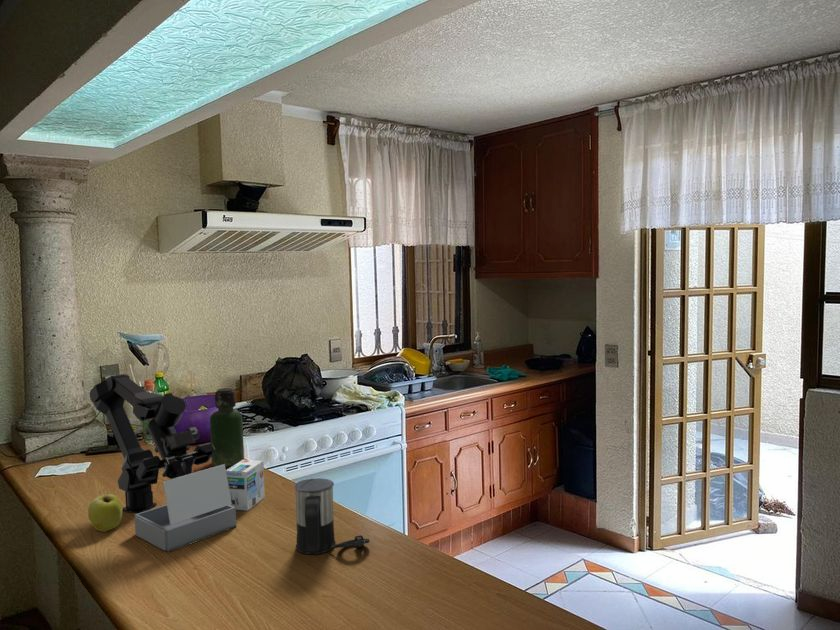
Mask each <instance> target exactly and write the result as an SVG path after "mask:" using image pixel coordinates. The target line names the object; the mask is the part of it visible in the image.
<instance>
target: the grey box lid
mask: <svg viewBox="0 0 840 630" xmlns="http://www.w3.org/2000/svg"><path fill="white" fill-rule="evenodd" d="M226 470H227V469H226V467H225V464H223V465H220V466H213V467H209V468H207V469H201V470H199V471H195V472H192V473H191V474H188V475H184V476H181V477H177V478H173V479H170V478H169V479H168V480H164V481H162V485H163V489H164V495H165V496H164V497H165V501H166V505H167V508H168V514H169V520H170V525H172V524H175V523H178V522H181V521H184V520H186V519H189V518H192V517H195V516H198V515H201V514H204V513H207V512H210V511H213V510H216V509H219V508H222V507H225V506H227V505H230V504H232V503H231V497H230V492H229V486H228V480H227V474H226Z"/></svg>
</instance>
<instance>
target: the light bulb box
mask: <svg viewBox="0 0 840 630" xmlns="http://www.w3.org/2000/svg"><path fill="white" fill-rule="evenodd" d="M264 465H265V464H264V460H251V459H244V460H242V461H240V462H238V463H237V464H235V465H234V466H231V467H228V468H227V469H226V474H227V480H228V486H229V492H230V497H231V503H232V504H230V505H231V506H234V507H236V511H249V510H251V509H252V508H253V507H255V506H256V505H257V504H258V503H260V502H261V501H262V500H263V499H265V497H266V496H265V470H264V469H265V468H264V467H265V466H264Z"/></svg>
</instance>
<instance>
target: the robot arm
mask: <svg viewBox="0 0 840 630" xmlns="http://www.w3.org/2000/svg"><path fill="white" fill-rule="evenodd" d="M89 399H90V401H91V402H92V404H93V405H94V407H95V409H96V410H97V411H99V412H100V413H102V414H103V415H105V417H106V419H107V420H108V423H109V426H110V429H111V430H112V432H113V435H114V437H115V440H116V442H117V444H118V447H119V450H120V451H121V454H122V456H123V462H122V465H121V471H122V472H121V474H120V475H119V478H118V479H117V485H118V489H120V490H122V491H124V494H125V495H124V496H125V506H124V507H122V508H123V512H127V513H128V512H130V513H134V514H138V513H141V512H144V511H148V510H150V509H152V508H154V507H156V506H157V503H156V502H154V493H153V491H152V490H153V489H152V485H156V484H157V483H158V480H159V479H158V478H159V471H160V469H162V471H163V473H162V478H168V479H169V480H170V479H173V478H177V477H181V476H184V475H188V474H191V473H193V472H192V468H193V465H196V466H199V465H203V464H206V463H208V462H210V460H211V459H212V457H211V456H212V455H213V453H214V452H215V448H214V446H213V445H212V444H211V442H206V443H203V444H198V445H196V446H195V448H194V450H193V451H191V452H187V451H189V450H190V448H191V447H190V445H192V444H195V443H196V441H197V440H198V439H200V437H201V436H200V432H199V429H197V427H196V426H193V427H189V428H188V429H186V431H182V432H177V431H176V429H175V426H176V425H178V423H179V422H180V420H181V418H182V416H183V414H184V412H185V411H186V409H187V404H186V402H185V401H184V400H183V399H182V398H181V397H180V396H179V397H178V396H176V395H174V394H173V393H172V392H169V393H163V395H161V394H159V393H156V392H148V391H146V390H145V389H144V388H142V387H141V386H140V385H138V384H137V383H135V382H134V381H133V380H132V379H131V378H130V376H129V375H128V374H125V373H121V374H115V375H110V376H108V377H107V378H106V379H105V380H103V381H101V382H99V383H97V384H95V385H93V387H92V388H91V389H90V391H89ZM125 401H126V402H127V403H128V404H130V406H131V407H132V413H133V415H134V416H135V417H136V419H138V421H141V422H143V421H149V420H150V421H149V423H147V426H146V429H145V435H147V436H148V435H150V437H151V438H152V441H153V443H154V445H155V448H154V452H155V453H156V454H157V453H158V454H159V455H160V456H158V455H155V456H154V455H153V451H152V450H151V449H143V448H142V447H141V446H142V445H141V444H140V442H139V440H138V437H137V435H136V432H135V430H134V428H133V426H132V423H131V421H130V419H129V417H128V414H127V411H126V410H125V408H124V404H125ZM160 457H161V458H160Z"/></svg>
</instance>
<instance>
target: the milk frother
mask: <svg viewBox="0 0 840 630" xmlns="http://www.w3.org/2000/svg"><path fill="white" fill-rule="evenodd" d="M334 486H335V482H334V481H333V480H331V479H329V478H328V479H327V478H318V477H317V478H308V479H303V480H300V481H298V482H296V483H295V484H294V486H293V487H294V489H295V512H296V513H295V516H296V545H295V549H296V550H297V551H298V552H299V553H303V554H308V555H315V554H316V555H317V554H324V553H326V552H329V551H331V550H333V549H337V548H349V547H356V549H359V548H363V547H364V546H365V544H369V543H370V538H364V536H363V535H361V534H360V535H355V537H354V539H350V540H345V541H342V542H339V543H336V538H335V524H334V521H335V520H334V491H333V489H334Z"/></svg>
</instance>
